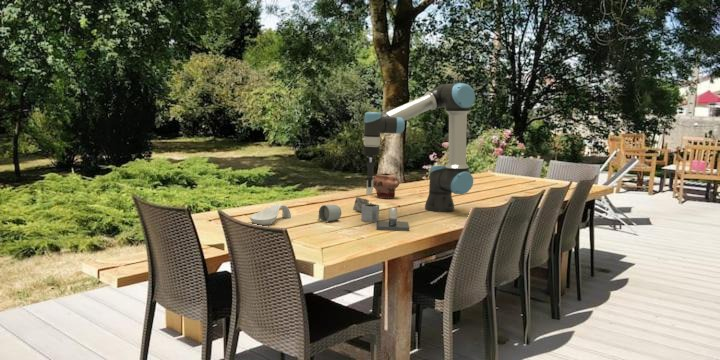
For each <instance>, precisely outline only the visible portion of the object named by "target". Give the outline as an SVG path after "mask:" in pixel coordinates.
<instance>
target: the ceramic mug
mask: <svg viewBox="0 0 720 360" xmlns="http://www.w3.org/2000/svg"><path fill="white" fill-rule="evenodd" d="M341 216H342V209H341V207H340V206H339V205H337V204H322V205H321V206H320V207H319V210H318V219H320V221H321V222H323V223H326V222H327V223H328V222H335V221H338V220H340V219H341V218H342V217H341Z"/></svg>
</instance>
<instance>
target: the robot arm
mask: <svg viewBox="0 0 720 360" xmlns="http://www.w3.org/2000/svg"><path fill="white" fill-rule="evenodd" d="M475 100H476V94H475V91H474V89H473V87H472V86H471V85H470V84H468V83H462V82H459V83H457V82H456V83H445V84H442V85H439V86H437V87H434V88H433V89H430V90H428V91H426V92H425V93H424V95H422V96H419V97H417V98H416V99H413V100H411V101H409V102H406V103H404V104H401V105H399V106H397V107H395V108H393V109H390V110H387V111H385V112H383V113H381V112H378V111H377V112H376V111H374V112H373V111H366V112H365V114H364V119H363V138H362V139H361V140H362V141H363V147H362V154H363V155H364V156H368V157H366V168H367V171H366V172H367V176H366V177H365V178H364V180H366V191H365V192H366V195H373V190H374V187H373V183H374V179H373V176H376V173H374V169H375V165H376V158H375V156H379V155H380V150H381V148H380V145H381V134H396V135H397V134H402V133H403V132H404V130H405V128H406V127H405V125H406V124H405V123H406V122H405V121H407V120H410V119H412V118H414V117H416V116H418V115H420V114H423V113H424V112H427V111H429V110H430V111H434V110H437V109H441V108H445V112H446V113H447V114H448V154H447V155H448V157H447V158H448V163H447V164H446V165H432V166H431V167H430V169H429V170H430V171H429V187H428V189H429V190H428V191H429V192H428V196H427V199H426V201H425V204H424V209H425V210H426V211H430V212H431V211H432V212H437V213H439V212H440V213H447V212H448V213H449V212H453V211H455V204H454V200H453V196H452V194H454V195H464V194H467V193H469V191H470V190H471V189H472V188H473V185H474V177H473V175H472V173H471V172H470V166H469V165H468V164H467V126H468V125H467V123H468V122H467V121H468V119H467V118H468V114H469V113H470V112H471V107H472V106H473V104H474V103H475Z"/></svg>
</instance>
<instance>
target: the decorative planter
mask: <svg viewBox="0 0 720 360" xmlns="http://www.w3.org/2000/svg"><path fill="white" fill-rule="evenodd" d="M399 185H400V183H399V181H398V178H397V176H396V175H395V174H392V173H378V174H376V173H375V176H373V189H375V192H376V196H377V197H378V198H380V199H394V198H395V196H396V189H397V188H398V187H399Z"/></svg>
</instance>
